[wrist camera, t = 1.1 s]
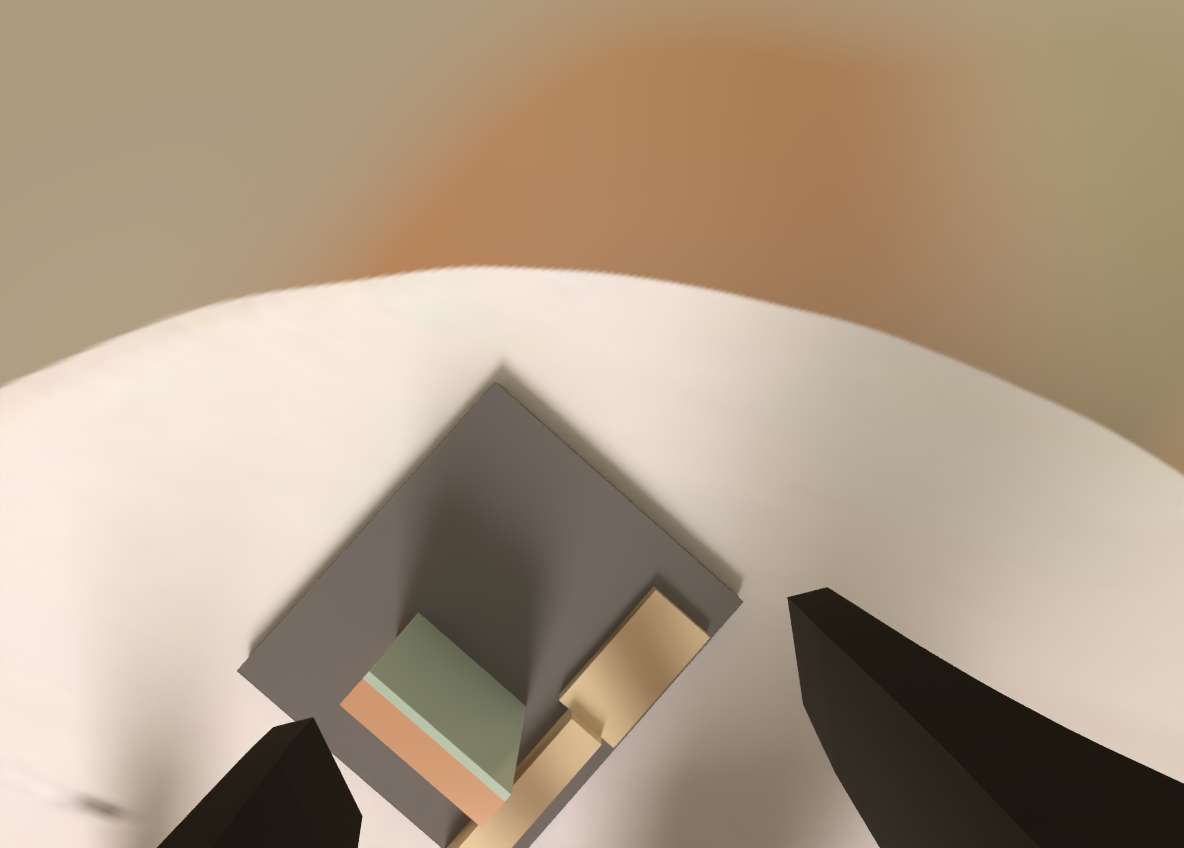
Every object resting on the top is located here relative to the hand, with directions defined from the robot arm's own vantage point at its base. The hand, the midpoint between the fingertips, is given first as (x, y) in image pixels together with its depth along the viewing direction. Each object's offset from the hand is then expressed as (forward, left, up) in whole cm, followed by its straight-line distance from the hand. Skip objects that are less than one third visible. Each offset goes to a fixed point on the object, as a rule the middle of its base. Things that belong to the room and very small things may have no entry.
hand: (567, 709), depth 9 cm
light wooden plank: (-6, -6, -16) cm, 18 cm away
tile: (-8, -1, -16) cm, 18 cm away
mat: (-6, -1, -17) cm, 18 cm away
